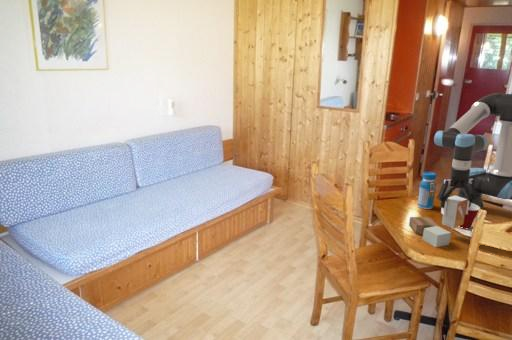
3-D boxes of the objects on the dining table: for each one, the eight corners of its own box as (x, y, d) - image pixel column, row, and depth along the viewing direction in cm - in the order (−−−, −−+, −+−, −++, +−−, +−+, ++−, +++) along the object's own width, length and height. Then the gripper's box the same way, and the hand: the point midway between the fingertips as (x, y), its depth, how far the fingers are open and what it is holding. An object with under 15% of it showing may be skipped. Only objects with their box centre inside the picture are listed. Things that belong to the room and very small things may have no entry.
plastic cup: (476, 233, 186) (480, 210, 183) (451, 228, 192) (455, 205, 189) (477, 225, 195) (481, 203, 192) (453, 221, 201) (457, 199, 198)
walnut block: (429, 226, 194) (430, 217, 193) (436, 235, 185) (438, 225, 183) (408, 226, 195) (410, 216, 193) (415, 234, 185) (416, 225, 184)
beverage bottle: (416, 208, 218) (421, 174, 213) (417, 203, 226) (421, 170, 220) (433, 210, 215) (438, 176, 209) (432, 205, 222) (437, 172, 217)
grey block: (435, 237, 182) (437, 225, 181) (449, 244, 175) (451, 232, 173) (422, 240, 179) (424, 228, 178) (435, 247, 172) (437, 235, 171)
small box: (454, 228, 178) (458, 202, 174) (441, 224, 183) (444, 198, 179) (463, 224, 182) (467, 198, 178) (451, 220, 187) (454, 194, 183)
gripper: (440, 171, 170) (434, 217, 177) (490, 169, 171) (482, 216, 178) (432, 166, 177) (426, 211, 184) (480, 165, 178) (472, 209, 185)
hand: (454, 213), depth 181 cm, fingers closed on small box, 10 cm apart
